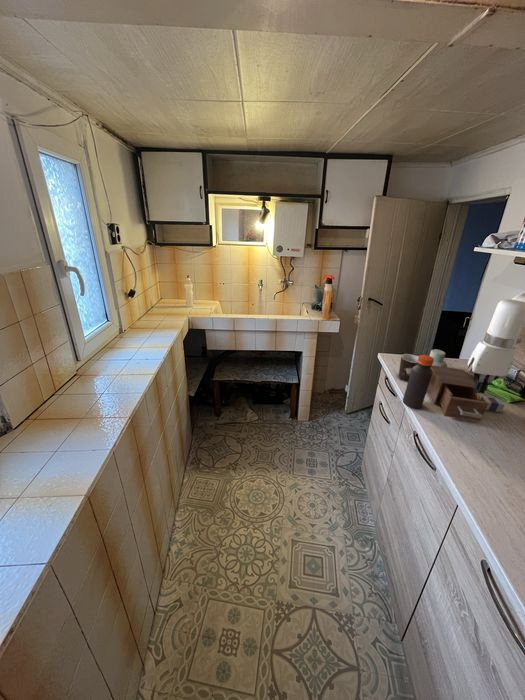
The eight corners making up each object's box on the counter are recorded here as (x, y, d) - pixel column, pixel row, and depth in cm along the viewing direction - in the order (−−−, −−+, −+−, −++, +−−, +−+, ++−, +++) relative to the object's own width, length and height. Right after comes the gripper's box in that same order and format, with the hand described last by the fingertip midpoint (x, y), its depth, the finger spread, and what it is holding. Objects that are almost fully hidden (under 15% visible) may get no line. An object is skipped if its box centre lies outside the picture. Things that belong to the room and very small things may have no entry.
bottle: (410, 409, 105) (425, 362, 97) (398, 399, 111) (411, 354, 103) (425, 408, 107) (441, 361, 98) (413, 398, 113) (427, 353, 104)
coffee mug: (392, 377, 127) (397, 357, 123) (400, 371, 133) (406, 352, 128) (419, 388, 120) (425, 367, 115) (426, 381, 125) (433, 361, 121)
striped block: (495, 406, 109) (499, 398, 108) (500, 412, 106) (504, 404, 104) (478, 403, 111) (481, 396, 109) (482, 409, 107) (486, 401, 106)
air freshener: (430, 364, 141) (436, 346, 136) (447, 371, 134) (453, 353, 130) (417, 369, 135) (423, 350, 131) (434, 377, 129) (440, 357, 125)
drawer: (485, 430, 95) (494, 411, 91) (448, 424, 97) (456, 405, 94) (464, 400, 111) (471, 383, 107) (433, 395, 113) (439, 378, 110)
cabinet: (470, 409, 107) (479, 388, 103) (434, 403, 110) (441, 382, 105) (456, 389, 120) (464, 369, 116) (424, 384, 122) (430, 365, 118)
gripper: (520, 339, 88) (498, 388, 96) (467, 333, 91) (450, 382, 99) (535, 348, 81) (510, 401, 89) (477, 342, 84) (458, 393, 92)
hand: (478, 391), depth 94 cm, fingers closed
